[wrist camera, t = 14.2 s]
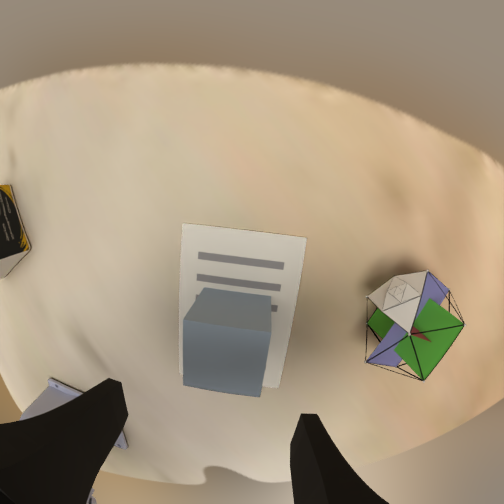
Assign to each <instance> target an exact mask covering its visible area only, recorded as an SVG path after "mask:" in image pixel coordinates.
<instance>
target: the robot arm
mask: <svg viewBox="0 0 504 504" xmlns="http://www.w3.org/2000/svg"><path fill="white" fill-rule="evenodd" d="M48 383H49V386H48V387H47V388H46V389H45V390H44V392H43V393H42V394H41V395H40V396H39V397H38V398H37V399H36V400H35V401H34V402H33V403H32V404H31V405H30V406H29V407H28V408H27V409H26V410H25V411H24V412H23V414H22V416H21V418H20V420H19V421H16V422H11V423H4V424H0V504H97V503H96V499H95V498H94V497H93V496H92V494H93V492H94V489H93V488H92V486H93V483H94V481H95V478H96V476H97V474H98V472H99V470H100V468H101V466H102V464H103V463H104V461H105V459H106V458H107V456H108V454H109V453H110V451H111V449H112V448H113V446H117V447H119V448H122V449H127V448H128V446H127V443H126V440H125V436H124V433H123V430H122V429H123V427H124V425H125V422H126V419H127V417H128V411H127V407H126V403H125V398H124V393H123V388H122V383H121V382H119V381H116V380H113V379H110V378H108V379H107V380H105V381H103V382H101V383H100V384H98V385H96V386H95V387H93V388H92V389H90V390H88V391H87V392H85V393H82V392H79V391H77V390H75V389H73V388H70V387H68V386H66V385H64V384H62V383H60V382H58V381H56V380H54V379H51V378H49V379H48ZM290 469H291V479H292V488H293V497H294V504H389V503H388V502H386V501H385V500H384V499H382V498H381V497H380V496H379V495H377V494H376V493H375V492H374V491H373V490H372V489H371V488H370V487H369V486H368V485H367V484H366V483H365V482H364V481H363V480H362V479H361V478H360V477H359V476H358V475H357V474H356V472H355V471H354V470H353V469H352V467H351V466H350V465H349V464H348V462H347V461H346V460H345V458H344V457H343V456H342V454H341V453H340V451H339V450H338V448H337V447H336V445H335V444H334V442H333V441H332V439H331V438H330V436H329V434H328V433H327V431H326V429H325V427H324V426H323V424H322V422H321V420H320V418H319V416H318V415H317V414H301V415H300V418H299V421H298V424H297V427H296V430H295V433H294V435H293V438H292V441H291V444H290Z"/></svg>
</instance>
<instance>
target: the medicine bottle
mask: <svg viewBox="0 0 504 504" xmlns="http://www.w3.org/2000/svg"><path fill="white" fill-rule="evenodd" d="M29 251H30V244H29V241H28V239H27V236H26V233H25V231H24V228H23V225H22V222H21V219H20V216H19V213H18V210H17V206H16V203H15V200H14V196H13V193H12V189H11V186H10V185H0V279H2V278H4V277H5V276H6V275H7V274H8V273H9V272H10V271H11V270H12V268H13V267H14V266H15V265H16V264H17V263H18V262H19V261H20V260H21V259H22V258H23V257H24V256H25V255H26V254H27V253H28V252H29Z"/></svg>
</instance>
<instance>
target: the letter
mask: <svg viewBox="0 0 504 504" xmlns="http://www.w3.org/2000/svg"><path fill="white" fill-rule="evenodd" d="M306 241H307V238H306V237H298V236H291V235H283V234H275V233H267V232H259V231H251V230H242V229H234V228H225V227H216V226H207V225H198V224H189V223H183V226H182V241H181V259H180V283H179V374H183V319H184V317H185V315H186V314H187V312H188V311H189V309H190V308H191V306H192V305H193V303H194V302H195V300H196V299H197V297H198V296H199V294H200V293H201V291H202V290H203V288H204V287H206V288H213V289H220V290H227V291H235V292H242V293H250V294H258V295H266V296H271V331H272V332H271V338H270V344H269V350H268V356H267V361H266V367H265V373H264V378H263V383H262V387H269V388H279V385H280V380H281V376H282V371H283V367H284V362H285V358H286V353H287V348H288V343H289V338H290V333H291V328H292V323H293V318H294V312H295V307H296V302H297V296H298V290H299V285H300V279H301V273H302V267H303V261H304V254H305V248H306Z"/></svg>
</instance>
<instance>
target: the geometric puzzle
mask: <svg viewBox="0 0 504 504" xmlns="http://www.w3.org/2000/svg"><path fill="white" fill-rule="evenodd" d="M448 291H449V299H448V298H447V296H446V294H447V293H448ZM450 293H451V292H450V288H449V289H448V288H447V287H446V286H445V285H444V284H442V283H441V282H440V281H439V280H438V279H437V278H436V277H435V276H433V275H432V274H431V273H430V272H429V270H428V269H427V270H426V271H421V272H415V273H409V274H403V275H396V276H393V277H392V278H391V279H389V280H388V281H387V282H385V283H384V284H383V285H381V286H380V287H379V288H377V289H376V290H375V291H373V292H372V293H371V294H369V295H368V296H367V295H366V298H368V299H370V300H371V301H372V302H373V303H374V304H375V305H376V306H377V307H378V308H377V309H376V311H375V312H374V314H373V315H372V317H371V318H370V319H369V321H368V322H366V324H368V326H369V327H370V329H371V330H372V329H373V330H374V331H375V332H376V333H377V334H378V335H379V336H380V337H381V338H382V339H383V340H382V341H380V340H379V339H378V337H377V336H376V334H375V333H374V331H373V330H372V332H373V333H374V335H375V336H376V338H377V339H378V341H379V342H380V344H379V345H378V346H377V348H376V349H375V350H374V352H373V353H372V354H371V355H370V357H369V358H368V359H367V361H366V358H365V361H364V363H369V364H371V363H373V364H372V365H374V364H379V365H386V366H393V367H395V368H399V366H402V365H405V364H408V365H409V366H410V367H411V369H412V370H413V371H414V372H415V373H416V374H417V375H418V376H419V377H420V378H421V379H420V378H418V377H416V376H414V375H412V374H410V373H408V372H407V371H405V370H403V369H401V368H399V369H401V370H403V371H405V372H407V373H408V374H410V375H412V376H414V377H416V378H418V380H419V379H420V380H421V381H423V383H424V382H425V379H426V378H427V377H428V376H429V374H430V373H431V372H432V371H433V369H434V368H435V367H436V366H437V364H438V363H439V362H440V360H441V359H442V358H443V356H444V355H445V354H446V352H447V351H448V349H449V348H450V347H451V345H452V344H453V342H454V341H455V339H456V338H457V336H458V335H459V333H460V332H461V330H462V329H463V327H464V326H466V324H465V323H464V321H463V319H461V317H462V316H461V317H460V316H459V317H460V319H461V320H462V322H463V323H462V322H461V321H460V320H458V319H457V318H456V317H454V316H453V315H452V314H450V303H451V302H450ZM451 295H452V294H451ZM445 296H446V298H447V299H448V300H449V312H448V311H446V310H445V309H444V308H442V307H441V306H440V304H441V303H442V301H443V300H444V298H445ZM452 297H453V296H452ZM453 299H454V298H453ZM454 302H455V301H454ZM455 304H456V303H455ZM451 305H452V304H451ZM452 306H453V305H452ZM456 306H457V305H456ZM453 308H454V307H453ZM457 308H458V307H457ZM454 309H455V308H454ZM458 310H459V309H458ZM455 311H456V310H455ZM456 312H457V311H456ZM459 313H460V312H459ZM457 314H458V313H457ZM458 315H459V314H458ZM460 315H461V314H460ZM366 351H367V332H366ZM402 359H403V360H404V361H405V362H406V363H405V364H402V365H399V366H397V365H398V364H399V363H400V362H401V360H402ZM375 366H377V365H375ZM378 367H380V366H378ZM381 368H382V367H381ZM384 369H385V368H384ZM387 370H388V369H387ZM390 371H391V370H390ZM393 372H394V371H393ZM396 373H397V372H396ZM399 374H401V373H399ZM402 375H404V374H402ZM405 376H407V375H405ZM408 377H410V376H408ZM411 378H413V377H411ZM416 378H414V379H416Z"/></svg>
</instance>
